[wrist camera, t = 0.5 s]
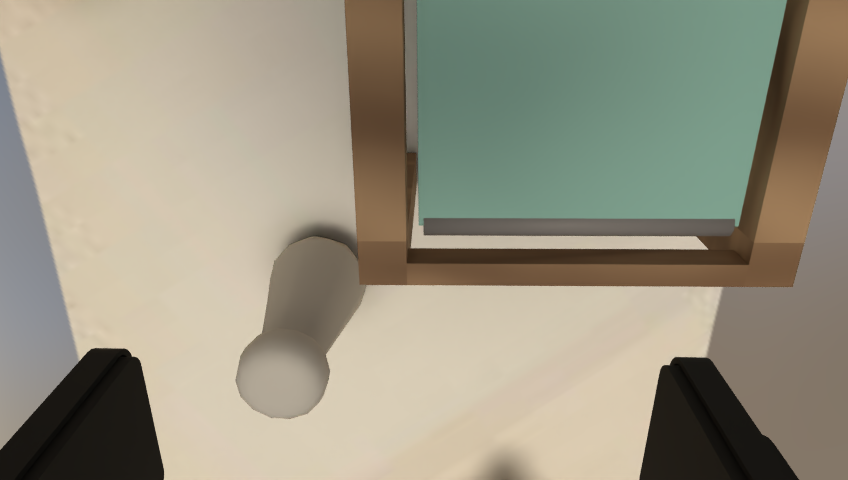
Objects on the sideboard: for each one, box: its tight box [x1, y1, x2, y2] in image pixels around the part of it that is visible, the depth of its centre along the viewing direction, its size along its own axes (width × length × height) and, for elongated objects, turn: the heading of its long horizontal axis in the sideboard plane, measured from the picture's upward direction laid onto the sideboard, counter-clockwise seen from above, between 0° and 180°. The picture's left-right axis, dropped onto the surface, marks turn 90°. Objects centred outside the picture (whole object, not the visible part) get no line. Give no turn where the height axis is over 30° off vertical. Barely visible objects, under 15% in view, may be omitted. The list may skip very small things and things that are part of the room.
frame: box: [345, 0, 848, 287], centre depth 29 cm, size 15×18×13 cm
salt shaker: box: [236, 236, 366, 419], centre depth 35 cm, size 6×6×13 cm
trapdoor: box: [417, 0, 787, 236], centre depth 24 cm, size 12×13×1 cm
